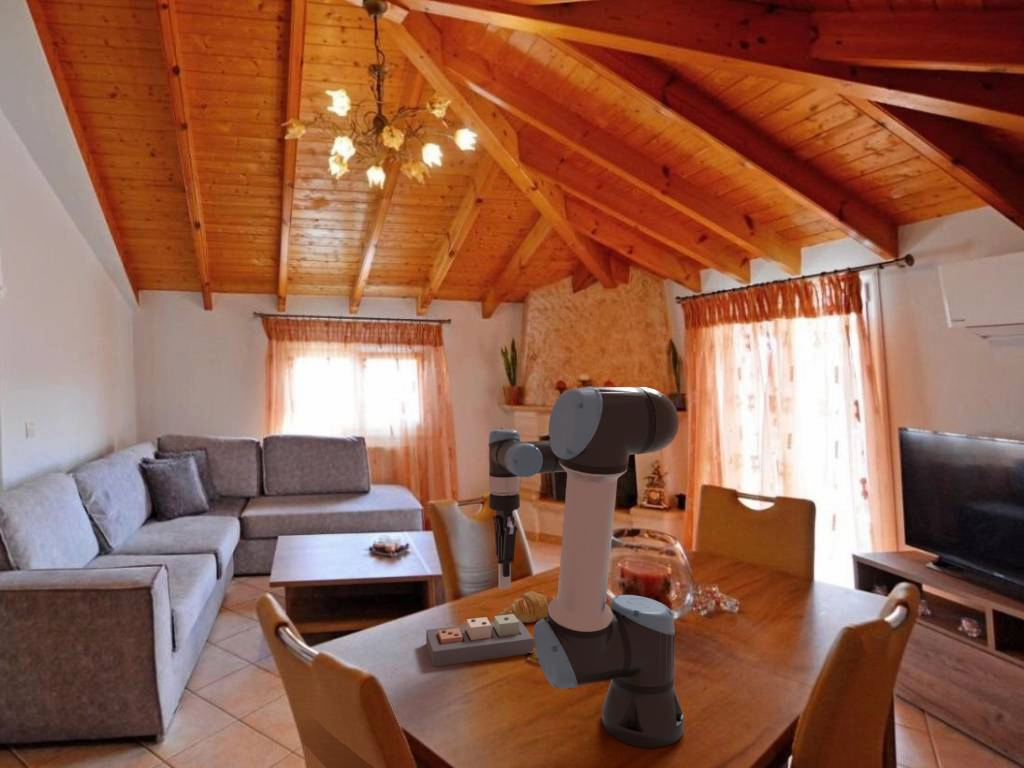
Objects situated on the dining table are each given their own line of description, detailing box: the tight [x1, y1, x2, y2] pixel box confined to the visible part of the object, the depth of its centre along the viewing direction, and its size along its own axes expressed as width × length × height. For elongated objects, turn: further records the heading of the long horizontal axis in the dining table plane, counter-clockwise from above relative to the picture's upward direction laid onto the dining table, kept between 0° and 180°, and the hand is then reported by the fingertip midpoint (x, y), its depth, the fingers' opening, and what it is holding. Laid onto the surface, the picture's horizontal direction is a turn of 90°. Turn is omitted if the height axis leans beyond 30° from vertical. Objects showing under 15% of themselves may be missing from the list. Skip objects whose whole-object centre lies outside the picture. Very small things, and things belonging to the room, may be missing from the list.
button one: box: [493, 614, 519, 637], centre depth 144 cm, size 5×5×3 cm
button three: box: [438, 628, 463, 645], centre depth 140 cm, size 5×5×3 cm
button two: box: [466, 616, 491, 640], centre depth 142 cm, size 5×5×3 cm
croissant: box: [496, 590, 557, 624], centre depth 162 cm, size 21×10×8 cm
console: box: [425, 619, 534, 668], centre depth 142 cm, size 12×24×4 cm, turn 106°
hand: (504, 588), depth 144 cm, fingers closed
